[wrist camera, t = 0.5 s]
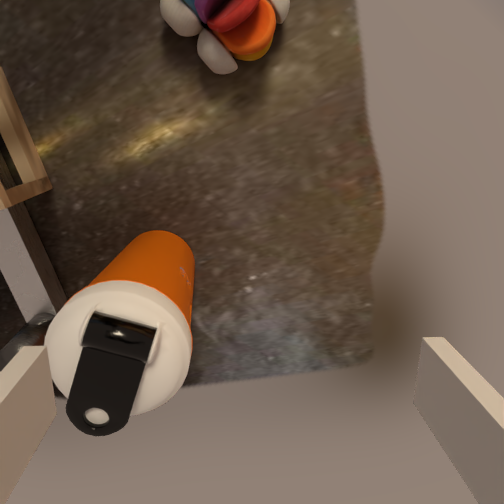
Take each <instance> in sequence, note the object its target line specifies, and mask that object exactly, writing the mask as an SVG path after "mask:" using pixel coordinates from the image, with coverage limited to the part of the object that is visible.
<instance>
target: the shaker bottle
mask: <svg viewBox="0 0 504 504" xmlns="http://www.w3.org/2000/svg"><path fill="white" fill-rule="evenodd" d="M194 274H195V260H194V255H193V253H192V251H191V249H190V247H189V246H188V244H187V243H186V242H185V241H184V240H183V239H182V238H180V237H179V236H177V235H175V234H173V233H171V232H167V231H163V230H153V231H148V232H145V233H142V234H140V235H139V236H137V237H135V238H134V239H133V240H132V241H131V242H130V243H129V244H128V245H127V246H126V247H125V248H124V249H123V250H122V251H121V252H120V253H119V255H118V256H117V257H116V258H115V259H114V260H113V261H112V262H111V263H110V264H109V265H108V266H107V267H106V268H105V269H104V270H103V271H102V272H101V273H100V274H99V275H98V276H97V277H96V278H95V279H94V280H93V281H92V282H91V283H90V284H89V285H88V286H87V287H85V288H83V289H82V290H80V291H78V292H77V293H75V294H74V295H73V296H72V297H71V298H70V299H69V300H68V301H67V302H66V303H65V304H64V306H63V307H62V309H61V310H60V311H59V312H58V313H57V314H56V316H55V317H54V319H53V321H52V322H51V324H50V325H49V328H48V330H47V333H46V336H45V341H44V346H47V351H48V358H49V364H50V371H51V377H52V380H53V381H54V383H55V385H56V386H57V388H58V389H59V390H60V391H61V392H62V393H63V394H64V396H65V397H66V398H67V399H68V400H67V404H66V413H67V415H68V417H69V419H70V421H71V422H72V423H73V424H74V425H75V426H76V428H78V429H79V430H81V431H82V432H84V433H85V434H89V435H93V436H105V435H109V434H112V433H114V432H117V431H119V430H120V429H122V428H123V427H124V426H125V425H126V423H127V422H128V419H129V416H135V415H139V414H143V413H146V412H149V411H152V410H154V409H156V408H158V407H160V406H161V405H163V404H165V403H166V402H167V401H168V400H169V399H171V398H172V397H173V396H174V395H175V394H176V393H177V391H178V390H179V389H180V388H181V386H182V385H183V382H184V380H185V378H186V376H187V373H188V369H189V364H190V358H191V354H192V334H191V329H190V327H191V312H192V300H193V287H194Z"/></svg>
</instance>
